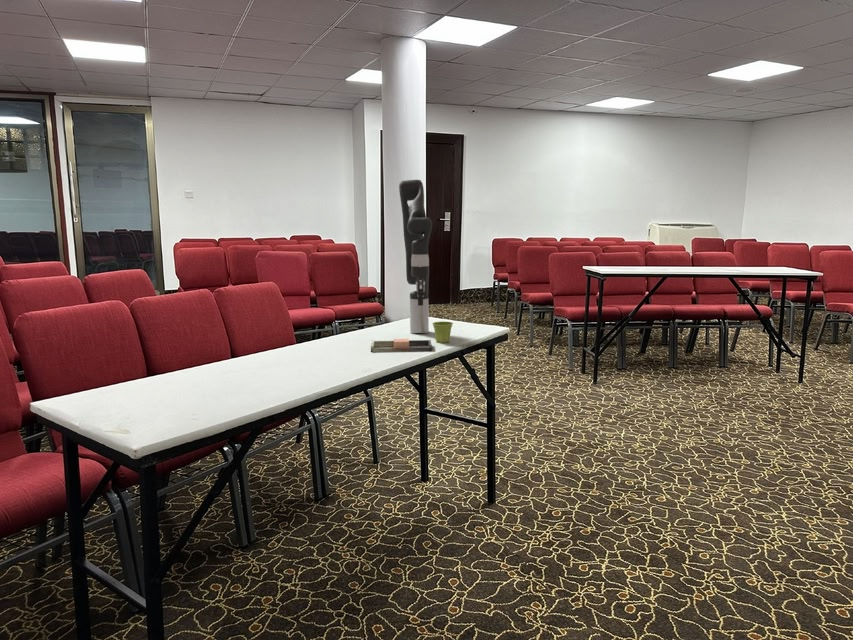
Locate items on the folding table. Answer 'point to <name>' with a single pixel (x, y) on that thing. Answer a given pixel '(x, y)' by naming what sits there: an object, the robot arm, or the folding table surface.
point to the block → (401, 343)
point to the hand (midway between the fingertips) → (420, 305)
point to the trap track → (412, 344)
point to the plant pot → (442, 331)
